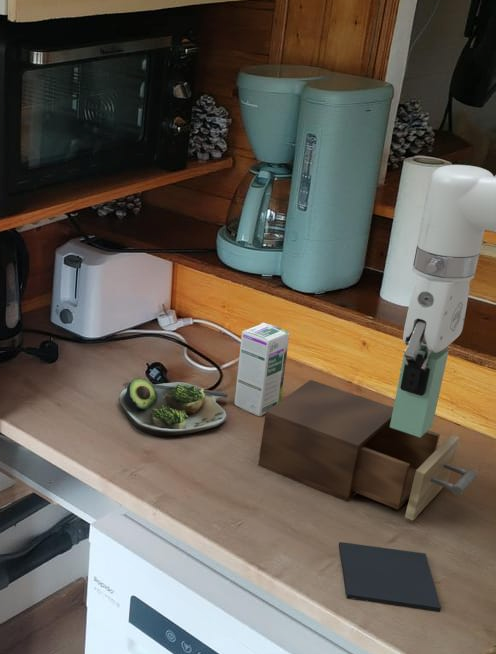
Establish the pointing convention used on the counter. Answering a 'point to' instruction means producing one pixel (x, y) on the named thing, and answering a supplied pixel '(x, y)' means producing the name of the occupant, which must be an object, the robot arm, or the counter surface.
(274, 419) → the cabinet
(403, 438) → the drawer
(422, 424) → the block
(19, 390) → the counter surface
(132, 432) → the counter surface
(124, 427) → the counter surface
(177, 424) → the avocado toast plate
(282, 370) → the syrup box
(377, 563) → the slate mat
